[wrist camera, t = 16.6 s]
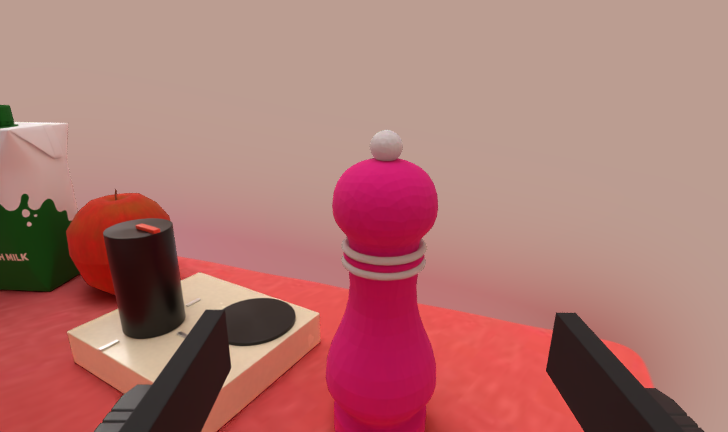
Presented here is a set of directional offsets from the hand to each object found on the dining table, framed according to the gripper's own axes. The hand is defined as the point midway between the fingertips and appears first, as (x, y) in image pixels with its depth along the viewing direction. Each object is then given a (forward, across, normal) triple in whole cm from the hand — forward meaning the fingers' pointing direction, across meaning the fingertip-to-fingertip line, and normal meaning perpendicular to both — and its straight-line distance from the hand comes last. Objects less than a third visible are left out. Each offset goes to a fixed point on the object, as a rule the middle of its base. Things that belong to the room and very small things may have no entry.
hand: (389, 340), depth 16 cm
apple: (+28, -28, -13) cm, 42 cm away
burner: (+16, -10, -10) cm, 22 cm away
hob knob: (+16, -19, -10) cm, 26 cm away
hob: (+16, -15, -13) cm, 25 cm away
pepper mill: (+8, 0, -13) cm, 15 cm away
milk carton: (+30, -39, -13) cm, 51 cm away
